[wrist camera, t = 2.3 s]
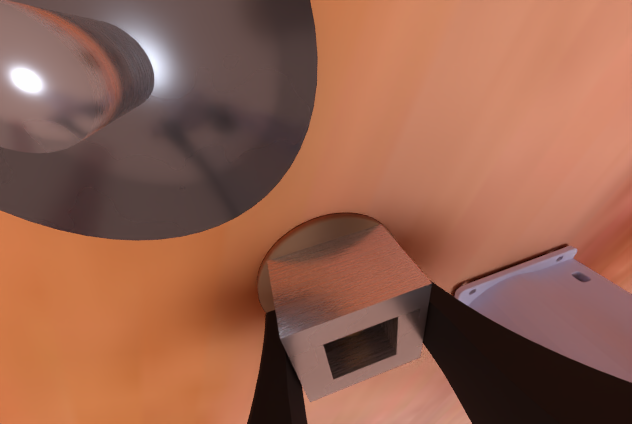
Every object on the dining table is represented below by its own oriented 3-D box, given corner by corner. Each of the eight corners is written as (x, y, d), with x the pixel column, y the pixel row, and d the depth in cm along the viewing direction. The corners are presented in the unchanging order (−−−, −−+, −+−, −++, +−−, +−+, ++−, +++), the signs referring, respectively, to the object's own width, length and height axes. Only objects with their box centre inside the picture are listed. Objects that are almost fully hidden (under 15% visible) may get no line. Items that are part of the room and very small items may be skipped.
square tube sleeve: (381, 224, 11) (431, 283, 8) (382, 295, 14) (420, 357, 11) (266, 260, 10) (280, 338, 8) (293, 328, 13) (310, 402, 11)
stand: (396, 193, 11) (441, 233, 9) (393, 293, 15) (424, 340, 13) (234, 242, 10) (235, 303, 8) (278, 335, 14) (288, 394, 12)
